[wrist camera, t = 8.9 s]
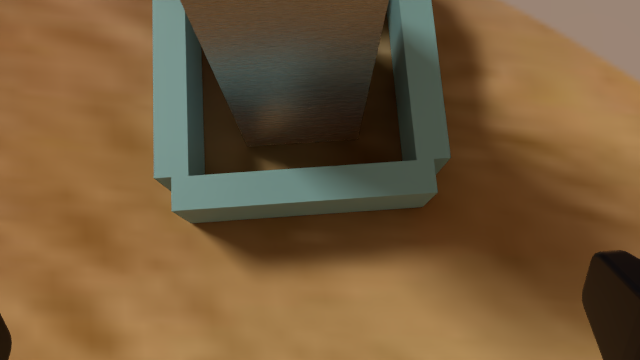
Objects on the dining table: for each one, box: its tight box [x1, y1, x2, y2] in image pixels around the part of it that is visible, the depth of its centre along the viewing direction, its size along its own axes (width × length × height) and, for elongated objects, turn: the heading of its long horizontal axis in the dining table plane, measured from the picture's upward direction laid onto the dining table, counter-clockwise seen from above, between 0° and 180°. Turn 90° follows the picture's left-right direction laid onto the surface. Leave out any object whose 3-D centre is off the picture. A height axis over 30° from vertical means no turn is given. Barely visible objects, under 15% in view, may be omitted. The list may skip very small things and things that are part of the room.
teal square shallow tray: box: [153, 0, 451, 223], centre depth 22 cm, size 10×10×3 cm
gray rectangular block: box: [180, 0, 389, 147], centre depth 17 cm, size 4×4×13 cm
